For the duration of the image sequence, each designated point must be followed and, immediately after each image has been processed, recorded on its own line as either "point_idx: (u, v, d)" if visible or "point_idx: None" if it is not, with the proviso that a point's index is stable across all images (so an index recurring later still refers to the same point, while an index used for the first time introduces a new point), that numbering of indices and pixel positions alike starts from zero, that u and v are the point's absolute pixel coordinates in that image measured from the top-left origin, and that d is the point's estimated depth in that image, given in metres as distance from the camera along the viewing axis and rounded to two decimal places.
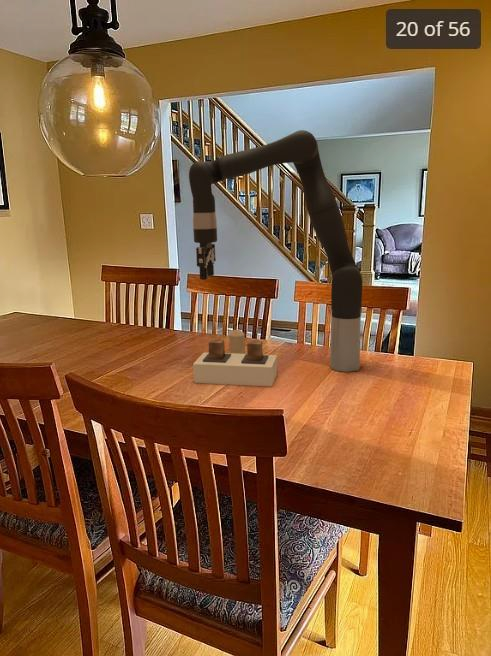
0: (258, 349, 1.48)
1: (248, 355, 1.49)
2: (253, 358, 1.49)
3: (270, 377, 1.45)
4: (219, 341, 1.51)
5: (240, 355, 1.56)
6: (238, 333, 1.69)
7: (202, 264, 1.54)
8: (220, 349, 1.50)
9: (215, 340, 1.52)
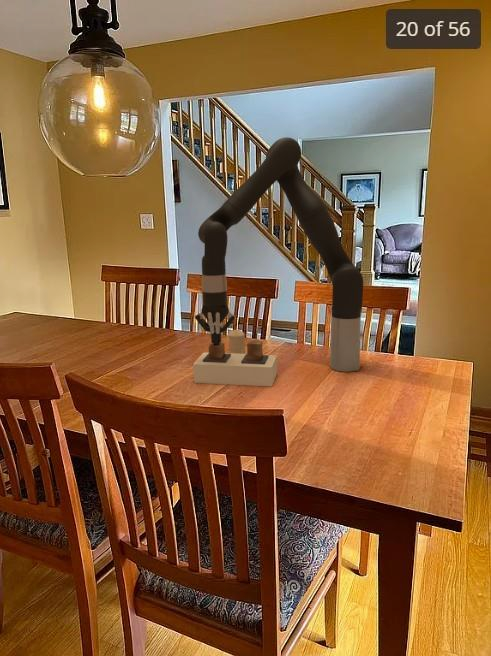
0: (258, 349, 1.48)
1: (248, 355, 1.49)
2: (253, 358, 1.49)
3: (270, 377, 1.45)
4: (219, 345, 1.52)
5: (240, 355, 1.56)
6: (238, 333, 1.69)
7: (226, 329, 1.51)
8: (220, 353, 1.50)
9: None
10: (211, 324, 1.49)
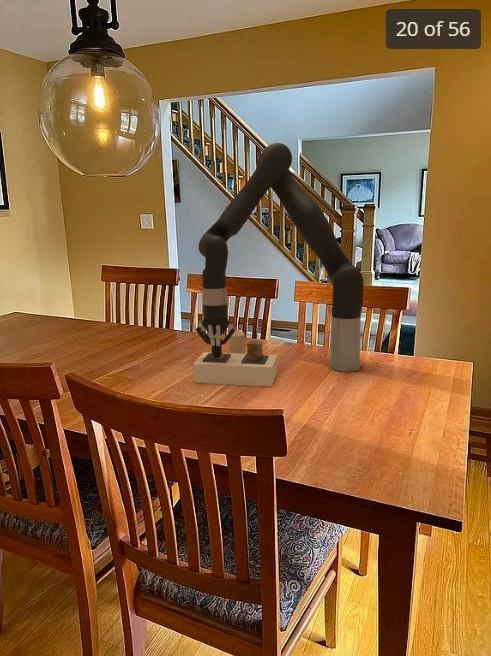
0: (258, 349, 1.48)
1: (248, 355, 1.49)
2: (253, 358, 1.49)
3: (270, 377, 1.45)
4: (220, 357, 1.52)
5: (240, 355, 1.56)
6: (238, 333, 1.69)
7: None
8: None
9: None
10: (211, 336, 1.50)
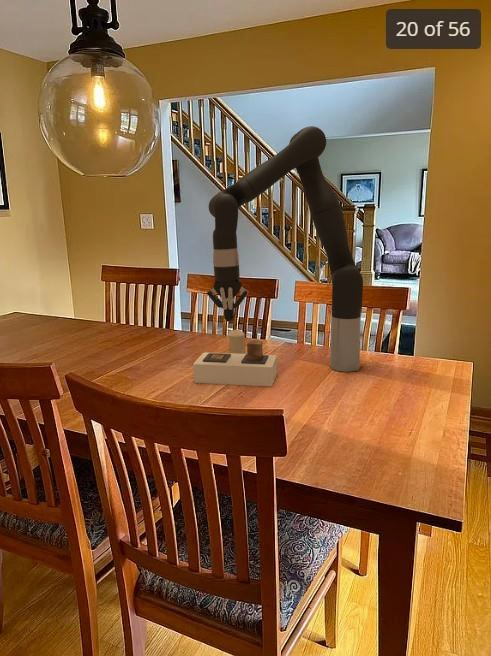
0: (258, 349, 1.48)
1: (248, 355, 1.49)
2: (253, 358, 1.49)
3: (270, 377, 1.45)
4: (220, 357, 1.52)
5: (240, 355, 1.56)
6: (238, 333, 1.69)
7: None
8: None
9: (215, 356, 1.53)
10: (224, 300, 1.46)
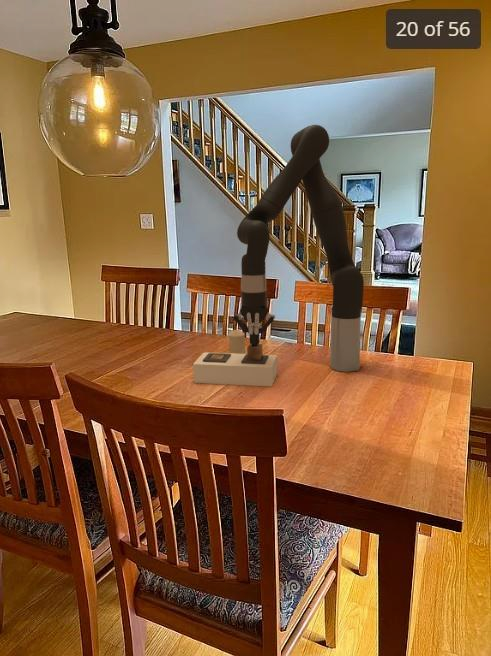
0: (258, 352, 1.48)
1: (248, 358, 1.49)
2: None
3: (270, 377, 1.45)
4: (220, 357, 1.52)
5: (240, 355, 1.56)
6: (238, 333, 1.69)
7: None
8: None
9: (215, 356, 1.53)
10: (250, 325, 1.47)
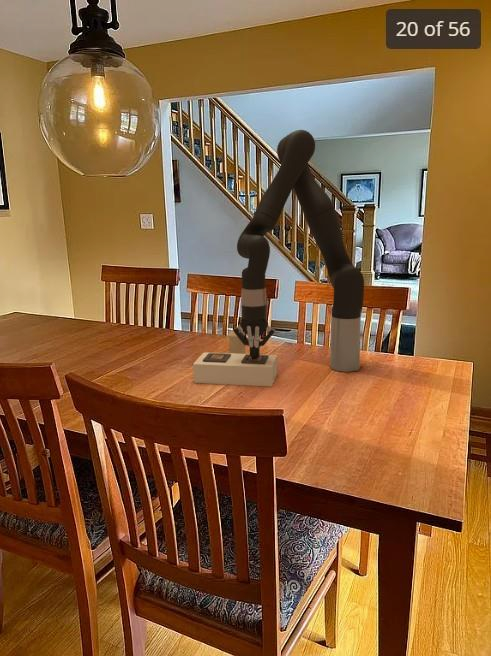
0: None
1: None
2: None
3: (270, 377, 1.45)
4: (220, 357, 1.52)
5: (240, 355, 1.56)
6: None
7: None
8: None
9: (215, 356, 1.53)
10: (250, 338, 1.48)
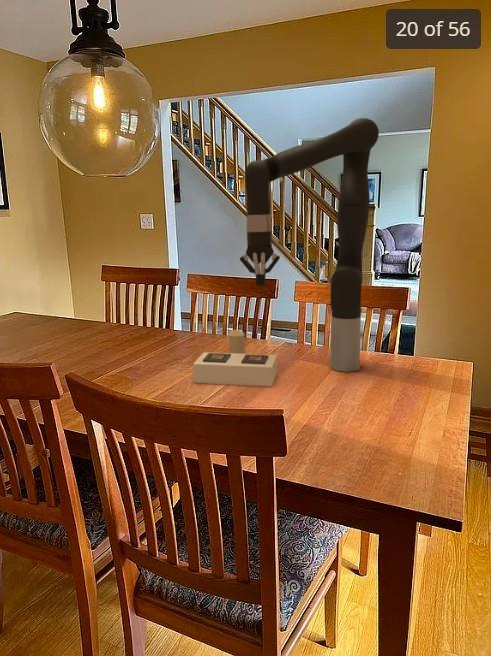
0: None
1: None
2: None
3: (270, 377, 1.45)
4: (220, 357, 1.52)
5: (240, 355, 1.56)
6: (238, 333, 1.69)
7: None
8: None
9: (215, 356, 1.53)
10: (256, 265, 1.51)
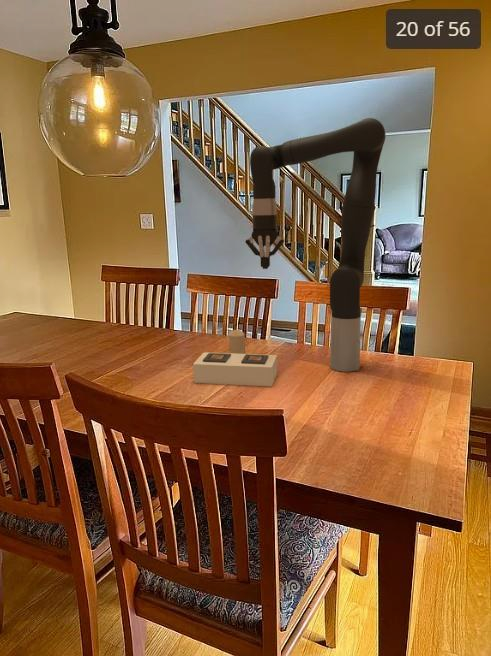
0: None
1: None
2: None
3: (270, 377, 1.45)
4: (220, 357, 1.52)
5: (240, 355, 1.56)
6: (238, 333, 1.69)
7: None
8: None
9: (215, 356, 1.53)
10: (261, 247, 1.56)
